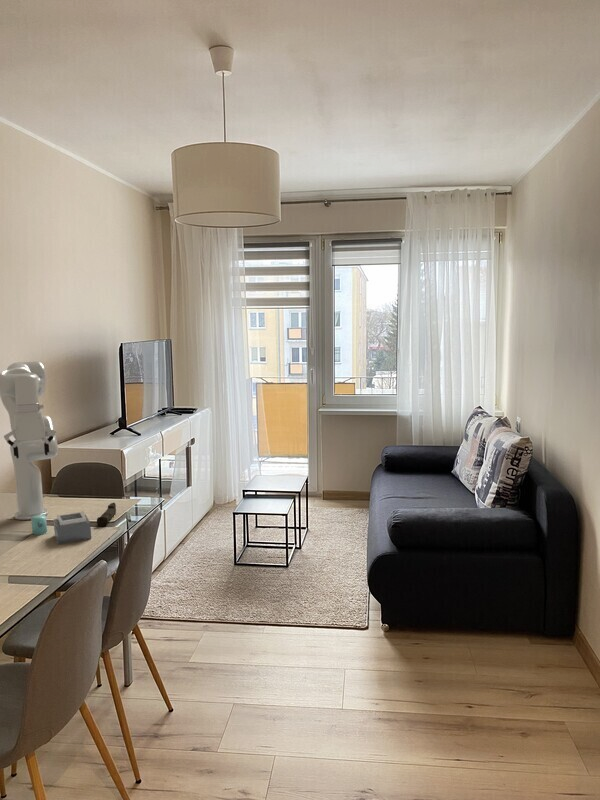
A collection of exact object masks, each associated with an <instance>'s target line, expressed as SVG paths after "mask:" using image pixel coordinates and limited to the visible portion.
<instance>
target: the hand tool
mask: <svg viewBox="0 0 600 800" xmlns="http://www.w3.org/2000/svg"><path fill="white" fill-rule="evenodd" d="M116 504H117V503H115V502H111V503H110V504H108V505H107V509H106V510H105V511H104V512H103V513H102V514H101V515H100V516H99V517H97V519H96V525H97V526H98V527H106V526H107V525H108V523H109V521H110V520H111V519H112V518H113V517H115V516H116V513H117V505H116ZM114 515H115V516H114Z"/></svg>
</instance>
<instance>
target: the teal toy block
mask: <svg viewBox="0 0 600 800" xmlns="http://www.w3.org/2000/svg"><path fill="white" fill-rule="evenodd" d="M30 522H31V530H32V531H31V533H32V535H33V534H34V535H33V536H40V534H42V535H45V534H47V533H48V526H47V515H37V516H33V517H31V519H30ZM46 532H47V533H46ZM44 533H45V534H44Z"/></svg>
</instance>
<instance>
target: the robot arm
mask: <svg viewBox="0 0 600 800" xmlns="http://www.w3.org/2000/svg"><path fill="white" fill-rule="evenodd" d="M46 380H47V372H46V368H45V365H44V364H43V363H42V362H41V361H20V362H18V361H17V362H13V363H11V364H10V365H8V367H7V369H6V370H3V371H0V400H1V403H2V405H3V406H4V408H5V409H6V411H7V413H8V416H9V424H10V430H11V431H9V432H8V433H6V434H4V435H3V439H4V440H5V441H6V443H7V444H8V445H10V446H9V450H10V455H11V459H12V464H13V468H14V469H13V470H14V478H15V479H14V481H15V492H16V493H15V494H16V502H17V512H16V513H14V515H13V518H15V520H21V521H25V520H31V517H33V516H37V515H46V516H47V515H48V514H49V510H48V509H47V508H44V499H43V498H44V496H43V495H44V494H43V482H42V473H41V469H40V468H39V467H38V466H37V465H36V464H35V463H34V462H35V461H36V462H37V461H41V460H43V461H44V460H50V459H51V460H52V459H54V458H56V457H57V456H58V453H59V445H58V440H57V436H56V434H57V431H56V430H55V425H54V421H53V419H52V418H51V417H50V416H49V415H47V414H46V415H44V414H43V412H42V411H41V409H44V404H40V402H39V397H42V396H43V395H44V394H45V392H46ZM12 436H13V438H14V440H13V441H12V440H11V439H10V437H12Z"/></svg>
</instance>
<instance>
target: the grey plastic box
mask: <svg viewBox="0 0 600 800" xmlns="http://www.w3.org/2000/svg"><path fill="white" fill-rule="evenodd" d="M53 529H54V530H53V531H54V537H55V539H56V542H57V544H58V545H62V544H63V543H64V544H68V543H75V542H80V541H81V542H82V541H85V540H86V541H87V540H92V530H91V522H90V520H89V518H88V516H87V515H86V514H85V513H84V512H83V511H79V512H73V513H72V512H70V513H65V514H59V515H58V514H57V515H56V518H55V519H53ZM64 544H63V545H64Z"/></svg>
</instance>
